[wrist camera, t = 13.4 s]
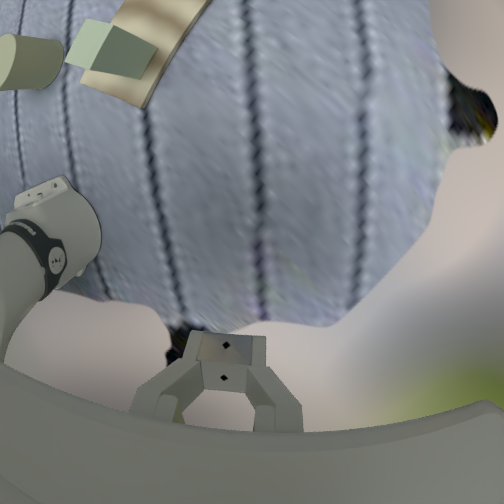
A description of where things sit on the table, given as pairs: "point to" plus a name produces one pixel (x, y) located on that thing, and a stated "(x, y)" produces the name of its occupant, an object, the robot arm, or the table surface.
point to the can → (28, 62)
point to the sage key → (110, 50)
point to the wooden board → (154, 32)
